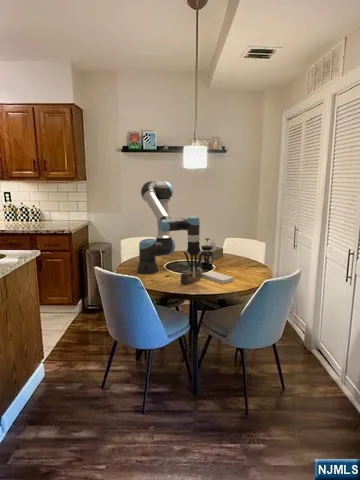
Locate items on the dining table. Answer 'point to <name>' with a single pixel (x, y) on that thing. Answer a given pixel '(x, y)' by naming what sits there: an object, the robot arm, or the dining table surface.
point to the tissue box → (214, 251)
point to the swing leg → (190, 277)
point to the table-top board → (218, 277)
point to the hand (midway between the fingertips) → (193, 276)
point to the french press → (206, 257)
